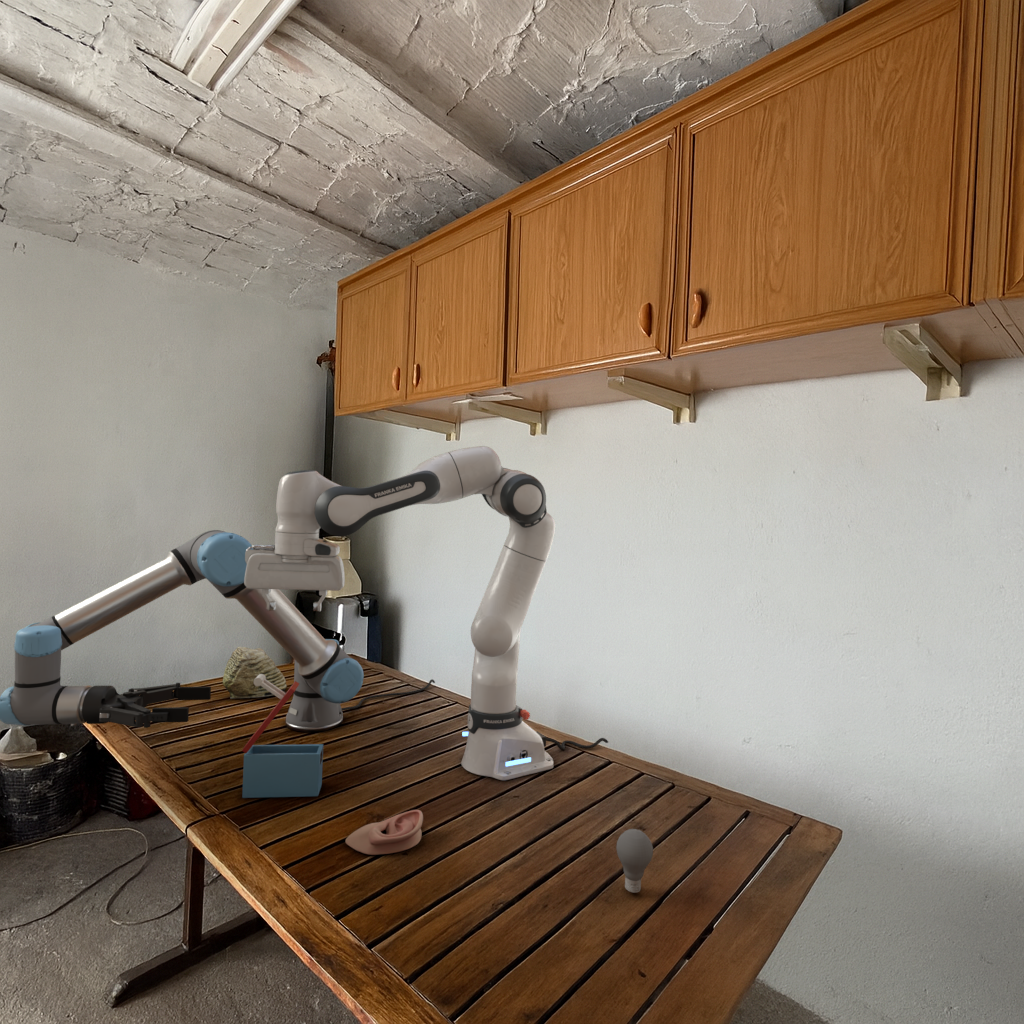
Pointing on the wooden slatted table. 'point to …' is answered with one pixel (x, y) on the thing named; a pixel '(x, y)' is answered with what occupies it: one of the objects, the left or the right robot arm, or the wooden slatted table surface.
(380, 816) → the wooden slatted table surface
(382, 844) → the anatomical model
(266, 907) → the wooden slatted table surface
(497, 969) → the wooden slatted table surface
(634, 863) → the light bulb
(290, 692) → the lid
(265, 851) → the wooden slatted table surface
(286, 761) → the chest
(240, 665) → the fossil
